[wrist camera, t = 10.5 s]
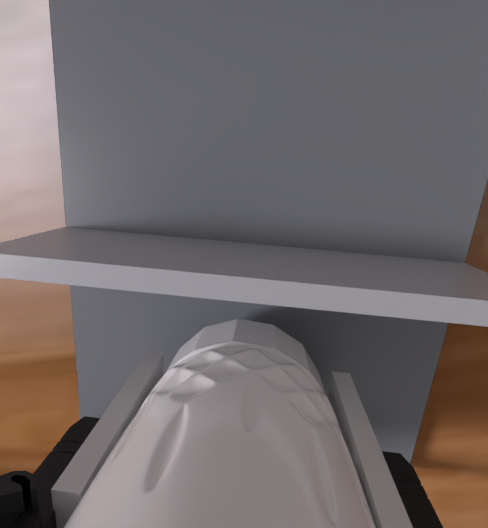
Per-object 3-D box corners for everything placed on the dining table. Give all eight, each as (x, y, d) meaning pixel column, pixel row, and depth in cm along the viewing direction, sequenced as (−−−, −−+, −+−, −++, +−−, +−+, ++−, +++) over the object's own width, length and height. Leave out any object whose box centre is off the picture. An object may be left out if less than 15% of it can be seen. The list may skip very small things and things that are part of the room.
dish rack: (62, -70, 13) (-118, -284, 7) (528, -51, 12) (792, -281, 6) (93, 429, 19) (15, 541, 13) (395, 466, 18) (455, 605, 12)
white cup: (153, 437, 16) (-28, 850, 6) (167, 290, 14) (-80, 570, 4) (311, 467, 16) (382, 944, 6) (351, 321, 13) (566, 702, 4)
